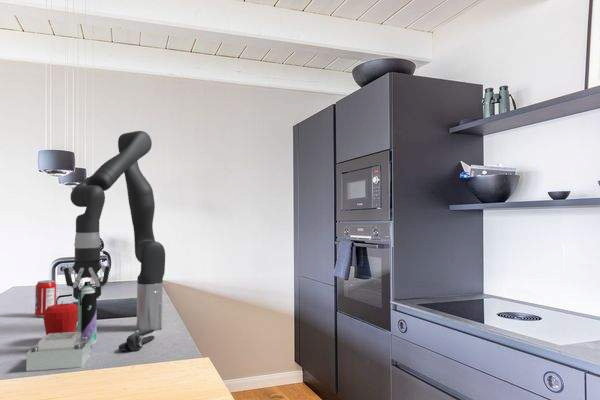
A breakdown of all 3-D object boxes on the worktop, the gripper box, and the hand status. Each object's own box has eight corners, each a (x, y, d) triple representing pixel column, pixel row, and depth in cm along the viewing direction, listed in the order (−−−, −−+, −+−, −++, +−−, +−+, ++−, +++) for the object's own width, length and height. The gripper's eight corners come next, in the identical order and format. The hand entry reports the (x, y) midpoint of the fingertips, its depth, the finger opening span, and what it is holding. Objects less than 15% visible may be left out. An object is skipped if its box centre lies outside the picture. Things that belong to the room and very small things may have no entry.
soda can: (49, 318, 188) (49, 282, 189) (30, 317, 188) (31, 282, 189) (59, 314, 196) (60, 279, 197) (41, 314, 196) (42, 279, 197)
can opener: (136, 354, 138) (136, 336, 138) (115, 353, 139) (115, 335, 139) (162, 339, 155) (162, 323, 156) (144, 338, 157) (144, 322, 157)
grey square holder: (90, 354, 137) (91, 329, 137) (81, 367, 126) (82, 340, 126) (40, 358, 134) (40, 332, 134) (26, 371, 122) (26, 343, 122)
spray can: (89, 346, 141) (89, 282, 142) (73, 345, 142) (74, 282, 143) (100, 341, 147) (100, 280, 147) (85, 340, 148) (85, 280, 148)
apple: (72, 335, 160) (73, 297, 160) (82, 341, 152) (83, 301, 153) (39, 341, 152) (40, 301, 153) (48, 347, 145) (49, 305, 146)
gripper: (112, 245, 151) (112, 295, 150) (66, 246, 147) (65, 297, 147) (109, 246, 144) (109, 299, 143) (60, 247, 140) (59, 302, 139)
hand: (87, 298), depth 145 cm, fingers closed on spray can, 5 cm apart
